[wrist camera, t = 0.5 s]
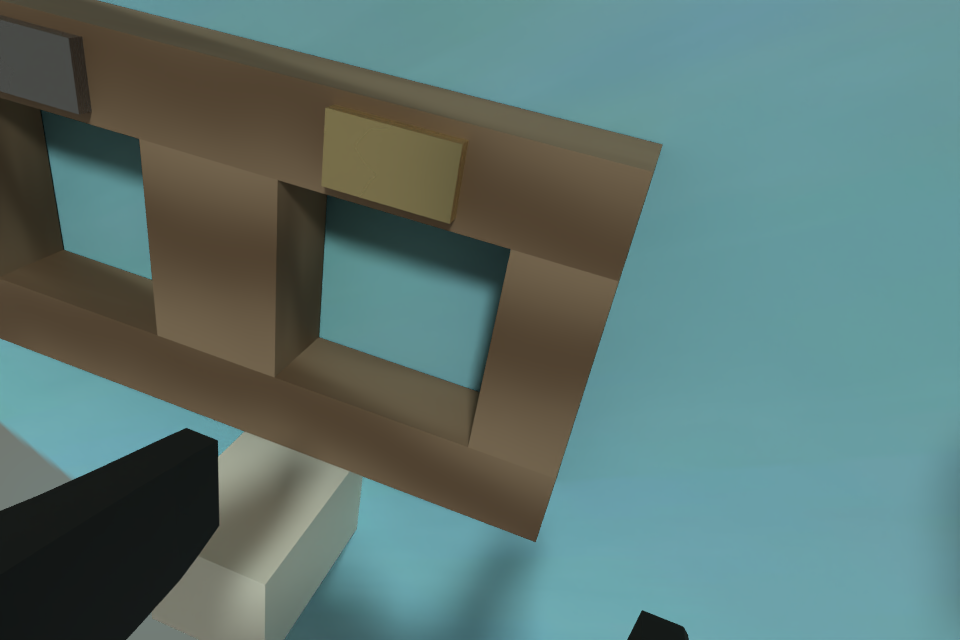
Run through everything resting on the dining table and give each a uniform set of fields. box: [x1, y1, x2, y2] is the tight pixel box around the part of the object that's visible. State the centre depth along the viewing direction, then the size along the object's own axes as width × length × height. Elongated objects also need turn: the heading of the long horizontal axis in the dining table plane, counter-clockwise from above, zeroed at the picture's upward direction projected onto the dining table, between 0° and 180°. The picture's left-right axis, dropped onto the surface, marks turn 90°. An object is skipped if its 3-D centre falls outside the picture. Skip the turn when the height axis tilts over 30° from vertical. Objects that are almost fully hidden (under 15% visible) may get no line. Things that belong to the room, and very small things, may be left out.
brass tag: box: [321, 105, 469, 224], centre depth 15 cm, size 2×3×1 cm, turn 80°
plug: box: [152, 432, 363, 640], centre depth 22 cm, size 4×4×6 cm
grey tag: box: [0, 15, 92, 114], centre depth 17 cm, size 2×3×1 cm, turn 80°
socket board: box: [0, 0, 662, 542], centre depth 19 cm, size 11×21×2 cm, turn 80°
